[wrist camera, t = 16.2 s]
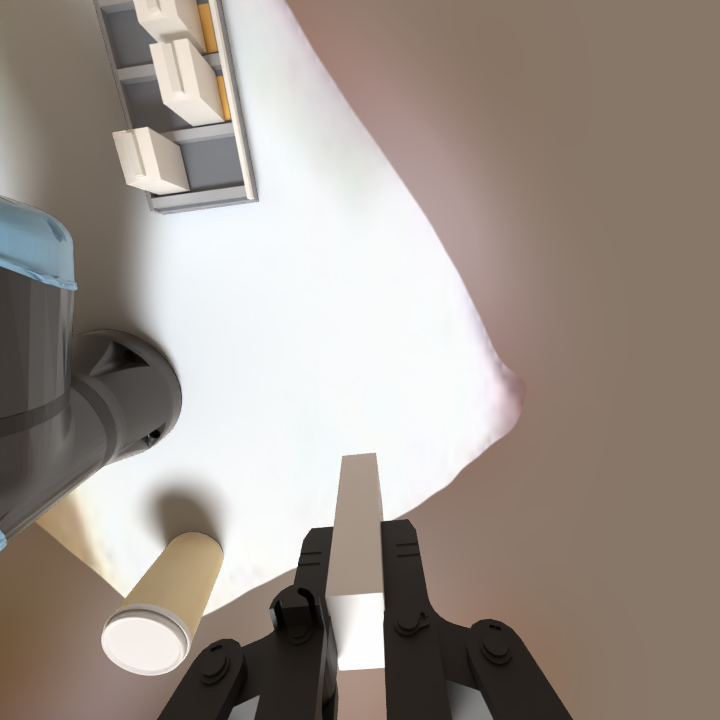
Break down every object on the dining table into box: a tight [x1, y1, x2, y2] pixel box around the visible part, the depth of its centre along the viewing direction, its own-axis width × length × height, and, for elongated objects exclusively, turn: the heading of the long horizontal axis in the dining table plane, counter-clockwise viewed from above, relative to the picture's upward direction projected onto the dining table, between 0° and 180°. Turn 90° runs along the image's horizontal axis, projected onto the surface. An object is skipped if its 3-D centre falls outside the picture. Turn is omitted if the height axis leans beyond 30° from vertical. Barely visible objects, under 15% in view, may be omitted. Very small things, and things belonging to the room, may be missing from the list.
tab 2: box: [149, 38, 225, 127], centre depth 28 cm, size 3×4×5 cm
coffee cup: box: [102, 532, 223, 675], centre depth 42 cm, size 9×9×12 cm
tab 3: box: [112, 127, 190, 195], centre depth 30 cm, size 3×4×5 cm
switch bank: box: [93, 0, 259, 214], centre depth 31 cm, size 10×17×2 cm, turn 7°
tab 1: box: [133, 0, 207, 55], centre depth 27 cm, size 3×4×5 cm
